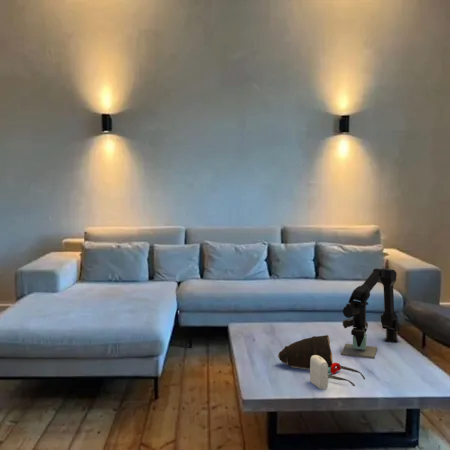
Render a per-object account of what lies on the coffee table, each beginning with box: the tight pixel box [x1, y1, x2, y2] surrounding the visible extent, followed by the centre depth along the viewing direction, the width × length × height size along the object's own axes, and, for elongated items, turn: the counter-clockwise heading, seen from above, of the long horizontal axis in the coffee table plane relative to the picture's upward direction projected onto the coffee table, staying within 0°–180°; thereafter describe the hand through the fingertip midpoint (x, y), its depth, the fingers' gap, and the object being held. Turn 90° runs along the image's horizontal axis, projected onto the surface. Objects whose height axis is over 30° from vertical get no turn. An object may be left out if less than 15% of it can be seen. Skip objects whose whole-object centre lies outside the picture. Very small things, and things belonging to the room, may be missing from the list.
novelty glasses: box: [328, 362, 366, 387], centre depth 227 cm, size 14×15×5 cm
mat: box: [340, 343, 378, 360], centre depth 263 cm, size 16×16×1 cm
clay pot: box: [277, 334, 334, 371], centre depth 242 cm, size 15×15×25 cm
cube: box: [352, 333, 367, 350], centre depth 263 cm, size 6×6×6 cm
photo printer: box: [309, 355, 329, 390], centre depth 220 cm, size 10×4×12 cm, turn 17°
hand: (359, 344), depth 263 cm, fingers closed on cube, 6 cm apart
